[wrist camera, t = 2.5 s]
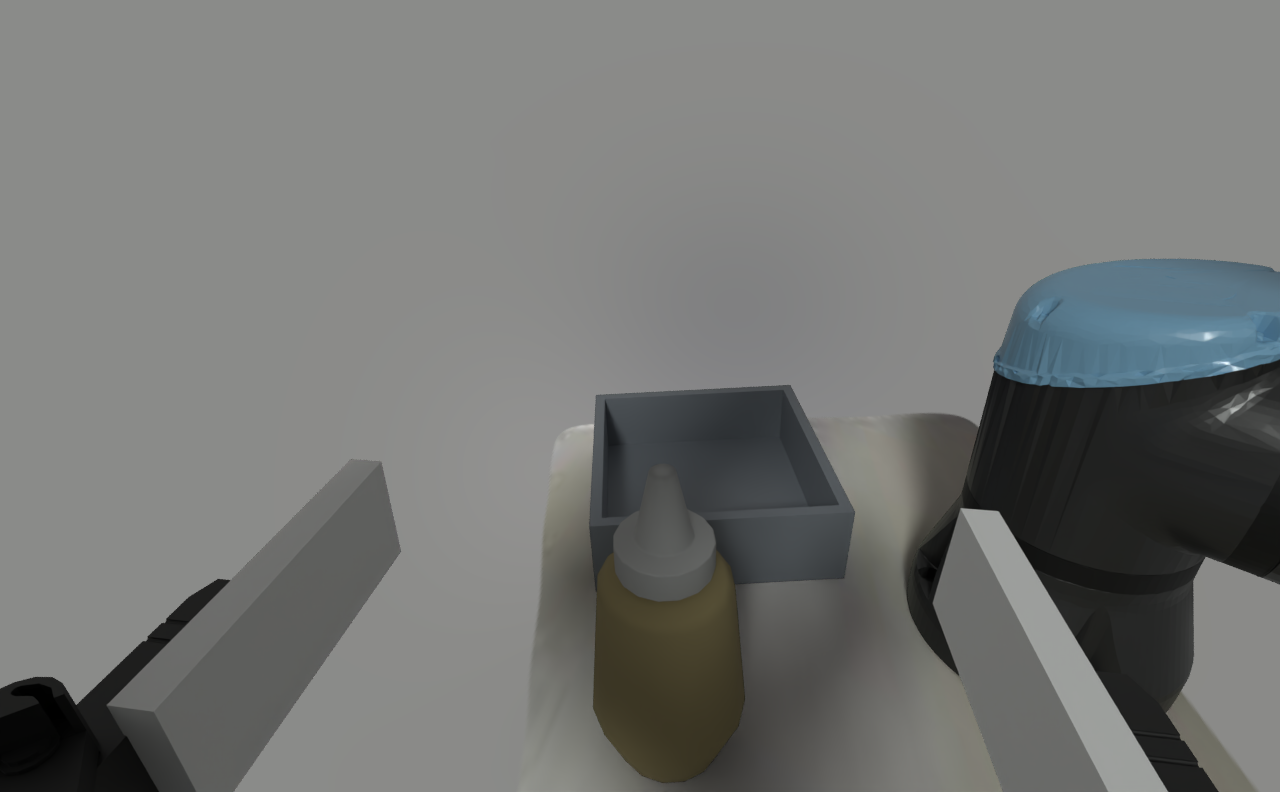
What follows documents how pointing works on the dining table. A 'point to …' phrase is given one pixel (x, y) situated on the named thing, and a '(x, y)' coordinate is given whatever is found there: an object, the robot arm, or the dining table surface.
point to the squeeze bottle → (667, 638)
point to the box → (726, 477)
